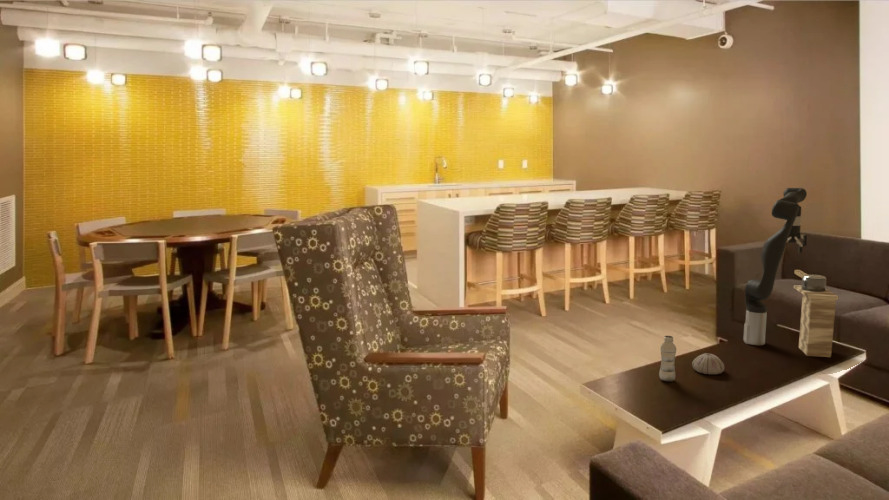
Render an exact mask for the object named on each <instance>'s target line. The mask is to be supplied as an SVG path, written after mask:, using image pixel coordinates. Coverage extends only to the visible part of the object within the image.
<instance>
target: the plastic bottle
mask: <svg viewBox="0 0 889 500" xmlns="http://www.w3.org/2000/svg"><path fill="white" fill-rule="evenodd" d="M659 350H660V358H661V359H660V363H661V364H660V369H659V373H658V376H659V378H660V379H661V381H665V382H673V381H674V380H675V379H676V370H675V368H676V367H675V359H676V354H677V346H676V345H675V343H674V336H671V335H665V336H664V337H663V342H662V344H660V349H659Z"/></svg>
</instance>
